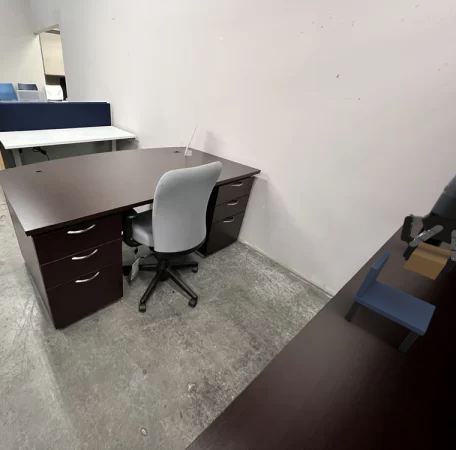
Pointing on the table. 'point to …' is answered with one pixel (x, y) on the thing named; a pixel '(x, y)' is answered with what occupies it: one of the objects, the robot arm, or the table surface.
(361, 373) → the table surface
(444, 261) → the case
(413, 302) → the chair
